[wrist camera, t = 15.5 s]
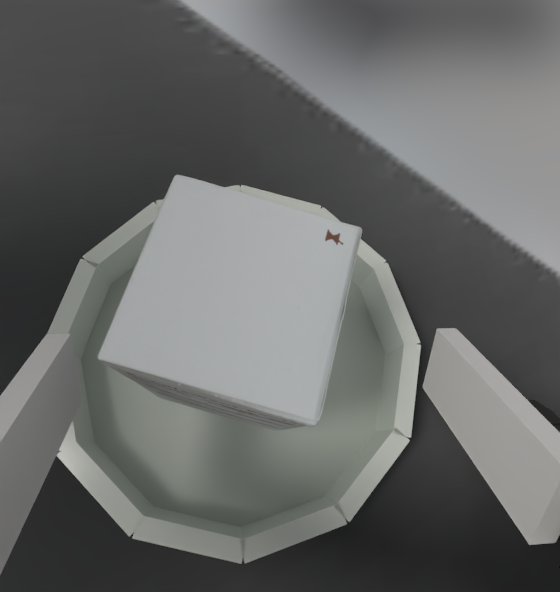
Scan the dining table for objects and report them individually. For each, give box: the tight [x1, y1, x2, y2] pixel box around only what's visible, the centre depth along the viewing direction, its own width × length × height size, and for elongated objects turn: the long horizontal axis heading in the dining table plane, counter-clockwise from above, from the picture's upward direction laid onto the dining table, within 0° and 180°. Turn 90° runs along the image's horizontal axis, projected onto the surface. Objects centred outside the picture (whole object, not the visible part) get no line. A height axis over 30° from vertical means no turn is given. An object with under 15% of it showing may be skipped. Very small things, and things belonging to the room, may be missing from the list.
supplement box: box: [97, 175, 362, 430], centre depth 20 cm, size 7×7×13 cm
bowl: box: [47, 185, 421, 564], centre depth 25 cm, size 20×20×4 cm
